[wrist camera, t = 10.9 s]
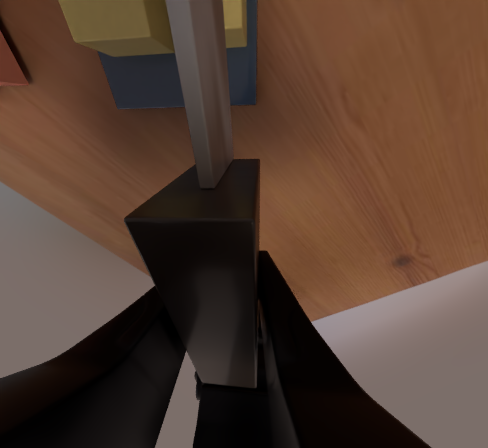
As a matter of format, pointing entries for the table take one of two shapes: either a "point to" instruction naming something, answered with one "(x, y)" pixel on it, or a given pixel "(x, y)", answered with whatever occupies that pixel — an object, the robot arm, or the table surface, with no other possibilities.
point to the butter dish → (167, 75)
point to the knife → (206, 214)
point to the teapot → (9, 67)
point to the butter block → (120, 26)
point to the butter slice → (235, 23)
